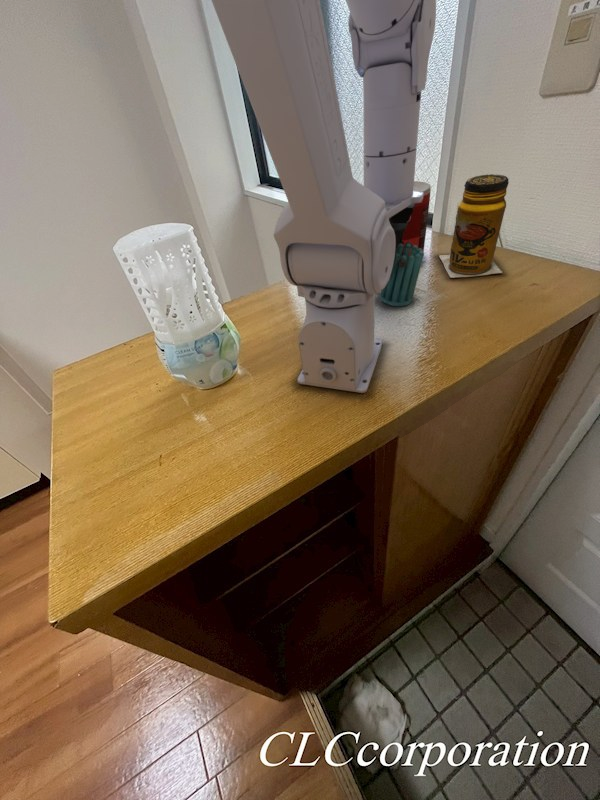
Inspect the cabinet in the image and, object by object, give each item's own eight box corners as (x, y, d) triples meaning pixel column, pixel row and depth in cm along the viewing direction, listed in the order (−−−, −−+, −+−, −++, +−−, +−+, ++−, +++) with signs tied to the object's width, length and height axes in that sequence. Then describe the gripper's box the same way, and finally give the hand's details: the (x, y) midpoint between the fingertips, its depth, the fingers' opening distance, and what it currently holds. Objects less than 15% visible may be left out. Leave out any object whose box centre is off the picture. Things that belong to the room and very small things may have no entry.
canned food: (366, 261, 60) (365, 190, 53) (403, 248, 62) (408, 178, 54) (392, 275, 55) (396, 199, 47) (432, 261, 57) (442, 185, 49)
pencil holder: (408, 312, 47) (375, 306, 48) (415, 289, 51) (384, 284, 52) (421, 262, 42) (383, 257, 43) (427, 242, 46) (392, 237, 47)
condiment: (450, 279, 52) (466, 189, 43) (438, 256, 58) (450, 173, 49) (502, 274, 50) (528, 180, 42) (484, 251, 56) (504, 166, 48)
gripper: (419, 163, 32) (407, 297, 41) (434, 134, 41) (422, 249, 50) (345, 169, 34) (350, 295, 44) (375, 140, 43) (374, 249, 53)
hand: (385, 270), depth 47 cm, fingers closed on pencil holder, 4 cm apart
